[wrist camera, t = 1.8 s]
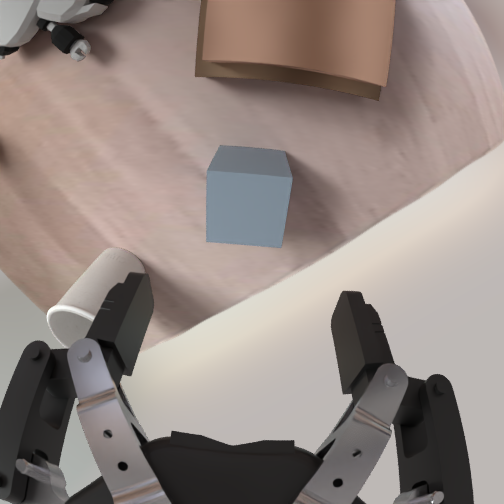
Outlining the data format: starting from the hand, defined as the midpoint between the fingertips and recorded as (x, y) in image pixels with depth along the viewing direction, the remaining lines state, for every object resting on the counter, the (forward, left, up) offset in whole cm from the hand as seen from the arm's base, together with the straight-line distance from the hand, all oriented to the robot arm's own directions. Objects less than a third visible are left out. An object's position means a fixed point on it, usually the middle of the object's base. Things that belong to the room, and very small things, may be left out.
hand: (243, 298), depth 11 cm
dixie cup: (-13, -11, -14) cm, 22 cm away
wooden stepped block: (+2, +14, -13) cm, 19 cm away
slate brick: (0, 0, -13) cm, 13 cm away
